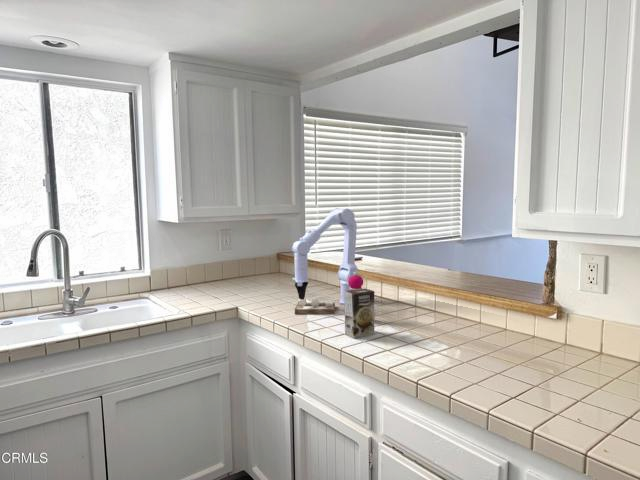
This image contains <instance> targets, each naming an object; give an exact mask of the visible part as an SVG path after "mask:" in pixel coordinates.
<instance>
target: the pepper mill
mask: <svg viewBox="0 0 640 480" xmlns="http://www.w3.org/2000/svg"><path fill="white" fill-rule="evenodd" d="M353 274H354V276H351V277H350V278H349V280H348V284H349V286H350V290H357V289H363V287H362V286H363V285H364V278H363V277H362V276H360V275H359V276H358V274H359V272H358V273H357V272H354V273H353Z"/></svg>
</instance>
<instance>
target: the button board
mask: <svg viewBox="0 0 640 480" xmlns="http://www.w3.org/2000/svg"><path fill="white" fill-rule="evenodd" d="M325 303H326V302H319V306H312V302H306V306H298V302H297V303H296V306H295V308H294V315H335V311H336V302H333V306H325Z"/></svg>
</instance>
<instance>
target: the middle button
mask: <svg viewBox="0 0 640 480" xmlns="http://www.w3.org/2000/svg"><path fill="white" fill-rule="evenodd" d="M311 303H312V306H319V303H320V298H311Z"/></svg>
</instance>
